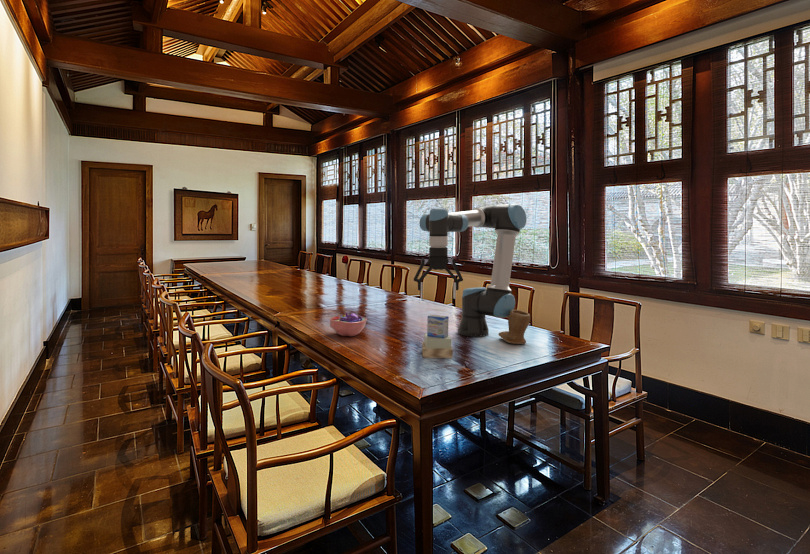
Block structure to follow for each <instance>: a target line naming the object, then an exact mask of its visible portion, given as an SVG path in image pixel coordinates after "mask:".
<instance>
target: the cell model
mask: <svg viewBox="0 0 810 554" xmlns="http://www.w3.org/2000/svg"><path fill="white" fill-rule="evenodd" d="M367 321H368V318H367V317H364V316H362V315H357V314H356V313H354V312H352V313H351V312H350V313H349V314H348V313H347V312H345V314H337V315H334V316H331V317H330V318H329V327H330V329H332V331H334V333H336V334H338V335H340V336H341V337H355V336H356V335H358V334H360V333H361V332H362V331H363V329H364V328H365V327H366V323H367Z"/></svg>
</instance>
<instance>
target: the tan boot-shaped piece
mask: <svg viewBox="0 0 810 554" xmlns="http://www.w3.org/2000/svg"><path fill="white" fill-rule="evenodd" d="M507 318H508V319H507V325H508V331H507V330H505V331H504V330H503V331H499V333H498V336H499V337H500V338H501V339H502V340H503V341H505V342H507V343H508V344H511V345H523V344H525V345H526V343H527V341H526V338H525V333H526V331H527V329H528V326H529V324H530V321H531V314H530V313H528V312H526V311H524V310H520V309H514V310H511V311H510V313H509V316H508V317H507Z"/></svg>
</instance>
